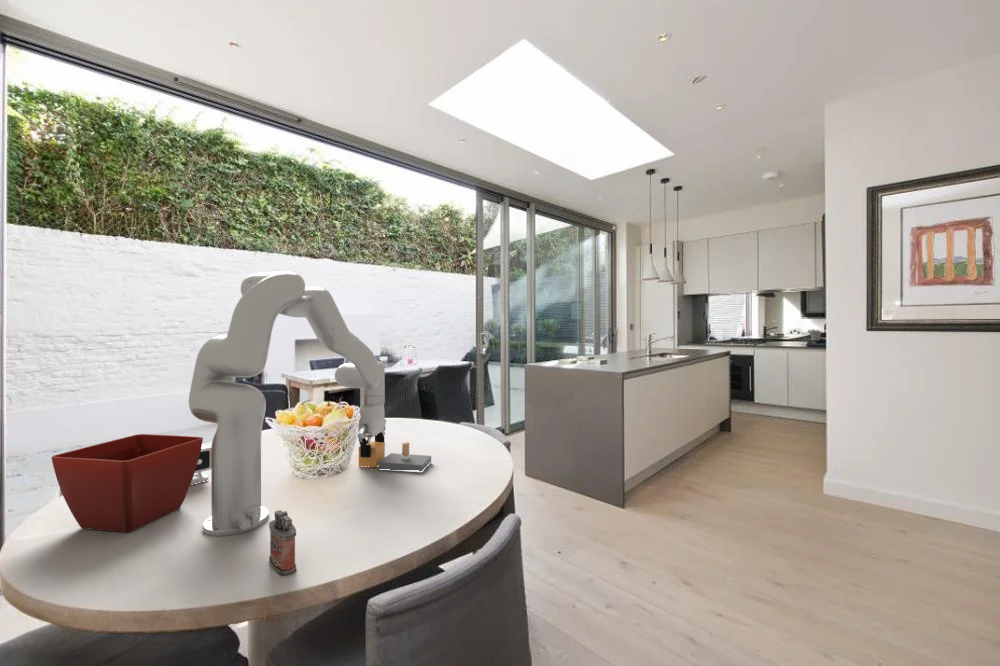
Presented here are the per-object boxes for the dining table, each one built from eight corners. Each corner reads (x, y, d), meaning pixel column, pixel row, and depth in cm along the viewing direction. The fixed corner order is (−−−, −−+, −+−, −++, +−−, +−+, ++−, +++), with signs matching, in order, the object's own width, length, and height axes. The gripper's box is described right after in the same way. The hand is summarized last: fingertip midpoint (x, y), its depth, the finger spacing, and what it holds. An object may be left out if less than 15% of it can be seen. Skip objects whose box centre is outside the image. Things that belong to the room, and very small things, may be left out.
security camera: (185, 489, 112) (185, 452, 111) (177, 482, 116) (176, 447, 116) (212, 482, 117) (212, 447, 117) (203, 476, 121) (203, 442, 121)
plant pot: (139, 497, 106) (139, 432, 106) (205, 503, 103) (205, 436, 103) (48, 535, 87) (47, 456, 87) (126, 543, 84) (126, 461, 84)
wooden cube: (384, 461, 136) (384, 442, 136) (376, 468, 130) (376, 447, 130) (367, 460, 137) (367, 441, 136) (358, 466, 131) (358, 446, 131)
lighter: (265, 561, 79) (265, 509, 79) (283, 554, 81) (284, 504, 81) (280, 579, 73) (280, 523, 73) (300, 571, 76) (300, 517, 76)
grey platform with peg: (431, 463, 135) (431, 440, 134) (421, 473, 126) (421, 448, 126) (390, 460, 137) (391, 438, 137) (378, 470, 128) (378, 446, 128)
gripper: (374, 394, 142) (374, 443, 143) (347, 404, 125) (348, 460, 126) (394, 395, 141) (394, 444, 141) (370, 405, 124) (371, 462, 124)
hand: (372, 452), depth 133 cm, fingers open, 9 cm apart
